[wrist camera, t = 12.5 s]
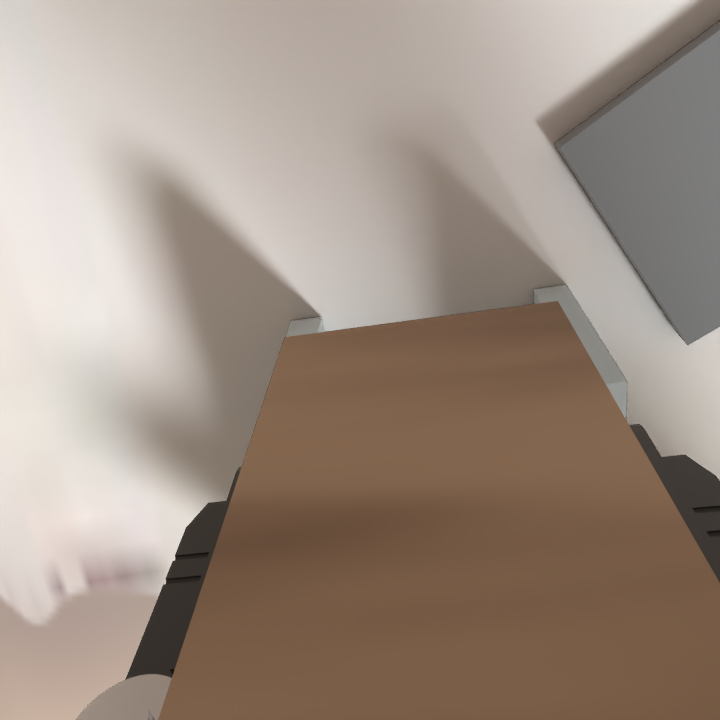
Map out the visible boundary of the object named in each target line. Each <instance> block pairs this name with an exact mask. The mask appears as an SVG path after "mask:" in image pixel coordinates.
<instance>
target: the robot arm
mask: <svg viewBox="0 0 720 720" xmlns="http://www.w3.org/2000/svg"><path fill="white" fill-rule="evenodd" d="M629 426H630V427H631V429H632V431H633V433H634V434H635V436H636V438H637V440H638V441H639V443H640V445H641V447H642V448H643V450H644V452H645V454H646V455H647V457H648V459H649V461H650V462H651V464H652V466H653V467H654V469H655V471H656V473H657V474H658V476H659V478H660V480H661V481H662V483H663V485H664V487H665V488H666V490H667V492H668V494H669V495H670V497H671V499H672V501H673V502H674V504H675V506H676V508H677V509H678V511H679V513H680V514H681V516H682V518H683V520H684V521H685V523H686V525H687V527H688V528H689V530H690V532H691V534H692V535H693V537H694V539H695V541H696V542H697V544H698V546H699V548H700V549H701V551H702V553H703V555H704V556H705V558H706V560H707V562H708V563H709V565H710V567H711V568H712V570H713V572H714V574H715V575H716V577H717V579H718V581H719V582H720V481H719V479H718V478H717V476H715V475H714V474H712V473H711V472H709V471H708V470H706V469H705V468H703V467H702V466H701V465H699V464H698V463H696V462H695V461H693V460H692V459H690V458H689V457H687V456H686V455H677V456H668V457H661V456H660V454H659V452H658V451H657V449H656V447H655V446H654V444H653V442H652V441H651V439H650V437H649V436H648V434H647V432H646V431H645V429H644V428H643V427H642V426H641V425H640V424H635V425H629ZM240 470H241V467H239V468H238V470H237V472H236V474H235V477H234V480H233V483H232V486H231V489H230V492H229V495H228V498H227V501H221V502H212V503H208V504H207V505H206V506H205V507H204V508H203V509H202V511H201V512H200V513H199V514H198V515H197V516H196V517H195V518H194V520H193V521H192V522H191V523H190V524H189V525H188V526H187V527H186V529H185V532H184V534H183V537H182V539H181V542H180V544H179V547H178V549H177V552H176V554H175V557H176V559H175V561H173V562H172V564H171V567H170V569H169V572H168V574H167V577H166V584H165V585H163V587H162V590H161V592H160V595H159V597H158V600H157V602H156V605H155V607H154V610H153V612H152V615H151V617H150V620H149V622H148V625H147V627H146V630H145V632H144V635H143V637H142V640H141V642H140V645H139V647H138V650H137V652H136V655H135V657H134V660H133V662H132V665H131V667H130V670H129V672H128V675H127V677H126V679H125V680H124V681H121V682H119V683H117V684H115V685H114V686H112V687H110V688H108V689H107V690H105V691H104V692H103V693H101V694H100V695H98V696H97V697H96V698H95V699H94V700H93V701H92V702H91V703H89V705H87V707H86V708H85V709H84V710H83V711H82V712H81V713H80V715H79V716H78V717H77V719H76V720H158V718H159V715H160V712H161V709H162V706H163V703H164V700H165V697H166V694H167V691H168V688H169V685H170V682H171V679H172V676H173V673H174V670H175V667H176V664H177V661H178V658H179V655H180V652H181V649H182V646H183V643H184V640H185V637H186V634H187V631H188V628H189V625H190V622H191V619H192V616H193V613H194V609H195V606H196V603H197V600H198V597H199V594H200V591H201V588H202V585H203V582H204V579H205V576H206V573H207V570H208V567H209V564H210V561H211V558H212V555H213V552H214V549H215V546H216V543H217V540H218V537H219V534H220V531H221V528H222V525H223V522H224V519H225V516H226V513H227V510H228V507H229V504H230V501H231V498H232V495H233V492H234V489H235V486H236V483H237V480H238V477H239V474H240Z"/></svg>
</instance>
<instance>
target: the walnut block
mask: <svg viewBox="0 0 720 720" xmlns="http://www.w3.org/2000/svg"><path fill="white" fill-rule="evenodd" d="M158 720H720V582H719V581H718V579H717V577H716V575H715V574H714V572H713V570H712V568H711V567H710V565H709V563H708V562H707V560H706V558H705V556H704V555H703V553H702V551H701V549H700V548H699V546H698V544H697V542H696V541H695V539H694V537H693V535H692V534H691V532H690V530H689V528H688V527H687V525H686V523H685V521H684V520H683V518H682V516H681V514H680V513H679V511H678V509H677V508H676V506H675V504H674V502H673V501H672V499H671V497H670V495H669V494H668V492H667V490H666V488H665V487H664V485H663V483H662V481H661V480H660V478H659V476H658V474H657V473H656V471H655V469H654V467H653V466H652V464H651V462H650V461H649V459H648V457H647V455H646V454H645V452H644V450H643V448H642V447H641V445H640V443H639V441H638V440H637V438H636V436H635V434H634V433H633V431H632V429H631V427H630V426H629V424H628V422H627V420H626V419H625V417H624V415H623V413H622V412H621V410H620V408H619V407H618V405H617V403H616V401H615V400H614V398H613V396H612V394H611V393H610V391H609V389H608V387H607V386H606V384H605V382H604V380H603V379H602V377H601V375H600V373H599V372H598V370H597V368H596V366H595V365H594V363H593V361H592V359H591V358H590V356H589V354H588V353H587V351H586V349H585V347H584V346H583V344H582V342H581V340H580V339H579V337H578V335H577V333H576V332H575V330H574V328H573V326H572V325H571V323H570V321H569V319H568V318H567V316H566V314H565V312H564V311H563V309H562V307H561V305H560V304H559V302H558V301H553V302H546V303H538V304H531V305H523V306H516V307H508V308H501V309H493V310H485V311H478V312H470V313H463V314H455V315H448V316H440V317H433V318H425V319H418V320H410V321H403V322H395V323H388V324H380V325H372V326H365V327H357V328H350V329H342V330H335V331H327V332H320V333H312V334H305V335H297V336H290V337H285V338H284V341H283V344H282V347H281V350H280V353H279V356H278V359H277V362H276V365H275V368H274V371H273V374H272V377H271V380H270V383H269V386H268V389H267V392H266V395H265V398H264V401H263V404H262V407H261V410H260V413H259V416H258V419H257V422H256V425H255V428H254V431H253V434H252V437H251V440H250V443H249V446H248V449H247V452H246V455H245V458H244V461H243V464H242V467H241V470H240V474H239V477H238V480H237V483H236V486H235V489H234V492H233V495H232V498H231V501H230V504H229V507H228V510H227V513H226V516H225V519H224V522H223V525H222V528H221V531H220V534H219V537H218V540H217V543H216V546H215V549H214V552H213V555H212V558H211V561H210V564H209V567H208V570H207V573H206V576H205V579H204V582H203V585H202V588H201V591H200V594H199V597H198V600H197V603H196V606H195V609H194V613H193V616H192V619H191V622H190V625H189V628H188V631H187V634H186V637H185V640H184V643H183V646H182V649H181V652H180V655H179V658H178V661H177V664H176V667H175V670H174V673H173V676H172V679H171V682H170V685H169V688H168V691H167V694H166V697H165V700H164V703H163V706H162V709H161V712H160V715H159V718H158Z"/></svg>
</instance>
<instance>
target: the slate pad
mask: <svg viewBox="0 0 720 720" xmlns="http://www.w3.org/2000/svg"><path fill="white" fill-rule="evenodd" d="M554 145H555V146H556V148H557V149H558V151H559V152H560V154H561V155H562V157H563V158H564V160H565V161H566V163H567V164H568V166H569V167H570V169H571V171H572V172H573V174H574V175H575V177H576V178H577V180H578V181H579V183H580V184H581V186H582V187H583V189H584V190H585V192H586V194H587V195H588V197H589V198H590V200H591V201H592V203H593V204H594V206H595V207H596V209H597V210H598V212H599V213H600V215H601V217H602V218H603V220H604V221H605V223H606V224H607V226H608V227H609V229H610V230H611V232H612V233H613V235H614V236H615V238H616V239H617V241H618V243H619V244H620V246H621V247H622V249H623V250H624V252H625V253H626V255H627V256H628V258H629V259H630V261H631V262H632V264H633V266H634V267H635V269H636V270H637V272H638V273H639V275H640V276H641V278H642V279H643V281H644V282H645V284H646V285H647V287H648V289H649V290H650V292H651V293H652V295H653V296H654V298H655V299H656V301H657V302H658V304H659V305H660V307H661V308H662V310H663V311H664V313H665V315H666V316H667V318H668V319H669V321H670V322H671V324H672V325H673V327H674V328H675V330H676V331H677V333H678V334H679V336H680V337H681V338H682V339H683V340H684V342H685V343H686V344H687V345H689V344H691V343H692V342H694V341H696V340H698V339H699V338H701V337H703V336H704V335H706V334H708V333H710V332H711V331H713V330H715V329H716V328H718V327H720V21H718V22H717V23H716V24H714V25H713V26H711V27H710V28H709V29H707V30H706V31H705V32H703V33H702V34H701V35H699V36H698V37H697V38H695V39H694V40H693V41H691V42H690V43H689V44H687V45H686V46H685V47H683V48H682V49H681V50H679V51H678V52H677V53H675V54H674V55H672V56H671V57H670V58H668V59H667V60H666V61H664V62H663V63H662V64H660V65H659V66H658V67H656V68H655V69H654V70H652V71H651V72H650V73H648V74H647V75H646V76H644V77H643V78H642V79H640V80H639V81H638V82H636V83H635V84H634V85H632V86H631V87H629V88H628V89H627V90H625V91H624V92H623V93H621V94H620V95H619V96H617V97H616V98H615V99H613V100H612V101H611V102H609V103H608V104H607V105H605V106H604V107H603V108H601V109H600V110H599V111H597V112H596V113H595V114H593V115H592V116H590V117H589V118H588V119H586V120H585V121H584V122H582V123H581V124H580V125H578V126H577V127H576V128H574V129H573V130H572V131H570V132H569V133H568V134H566V135H565V136H564V137H562V138H561V139H560V140H558V141H557V142H556V143H554Z"/></svg>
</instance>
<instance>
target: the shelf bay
mask: <svg viewBox="0 0 720 720" xmlns="http://www.w3.org/2000/svg"><path fill="white" fill-rule="evenodd" d="M553 301H558V302H559V304H560V305H561V307H562V309H563V311H564V312H565V314H566V316H567V318H568V319H569V321H570V323H571V325H572V326H573V328H574V330H575V332H576V333H577V335H578V337H579V339H580V340H581V342H582V344H583V346H584V347H585V349H586V351H587V353H588V354H589V356H590V358H591V359H592V361H593V363H594V365H595V366H596V368H597V370H598V372H599V373H600V375H601V377H602V379H603V380H604V382H605V384H606V386H607V387H608V389H609V391H610V393H611V394H612V396H613V398H614V400H615V401H616V403H617V405H618V407H619V408H620V410H621V412H622V413H623V415H624V417H625V419H626V404H627V380H626V378H625V377H624V375H623V374H622V372H621V370H620V369H619V367H618V366H617V364H616V362H615V361H614V359H613V358H612V356H611V355H610V353H609V351H608V350H607V348H606V347H605V345H604V343H603V342H602V340H601V339H600V337H599V335H598V334H597V332H596V331H595V329H594V327H593V326H592V324H591V323H590V321H589V319H588V318H587V316H586V315H585V313H584V311H583V310H582V308H581V307H580V305H579V304H578V302H577V300H576V299H575V297H574V296H573V294H572V292H571V291H570V289H569V288H568V286H567V285H561V286H554V287H546V288H538V289H534V304H538V303H546V302H553ZM320 332H324V327H323V323H322V318H321V317H316V318H308V319H301V320H293V321H291V322H290V325H289V328H288V331H287V334H286V337H290V336H297V335H305V334H312V333H320Z"/></svg>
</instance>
